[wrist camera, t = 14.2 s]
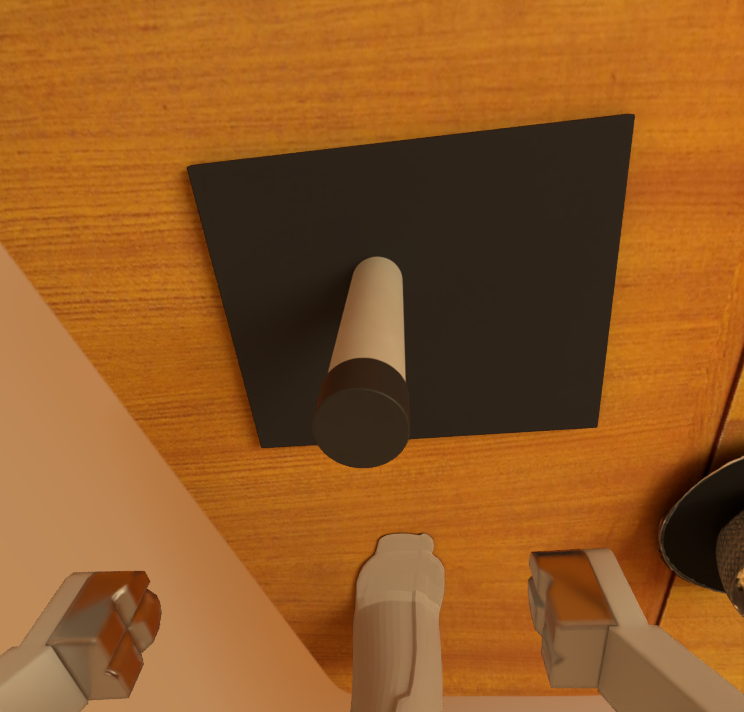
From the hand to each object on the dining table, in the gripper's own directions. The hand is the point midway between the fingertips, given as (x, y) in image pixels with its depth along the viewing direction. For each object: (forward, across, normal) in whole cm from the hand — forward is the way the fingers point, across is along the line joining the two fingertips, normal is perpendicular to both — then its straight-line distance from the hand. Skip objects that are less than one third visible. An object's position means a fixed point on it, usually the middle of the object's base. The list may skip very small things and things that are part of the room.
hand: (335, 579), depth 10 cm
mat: (+20, -2, +2) cm, 20 cm away
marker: (+19, 0, 0) cm, 19 cm away
